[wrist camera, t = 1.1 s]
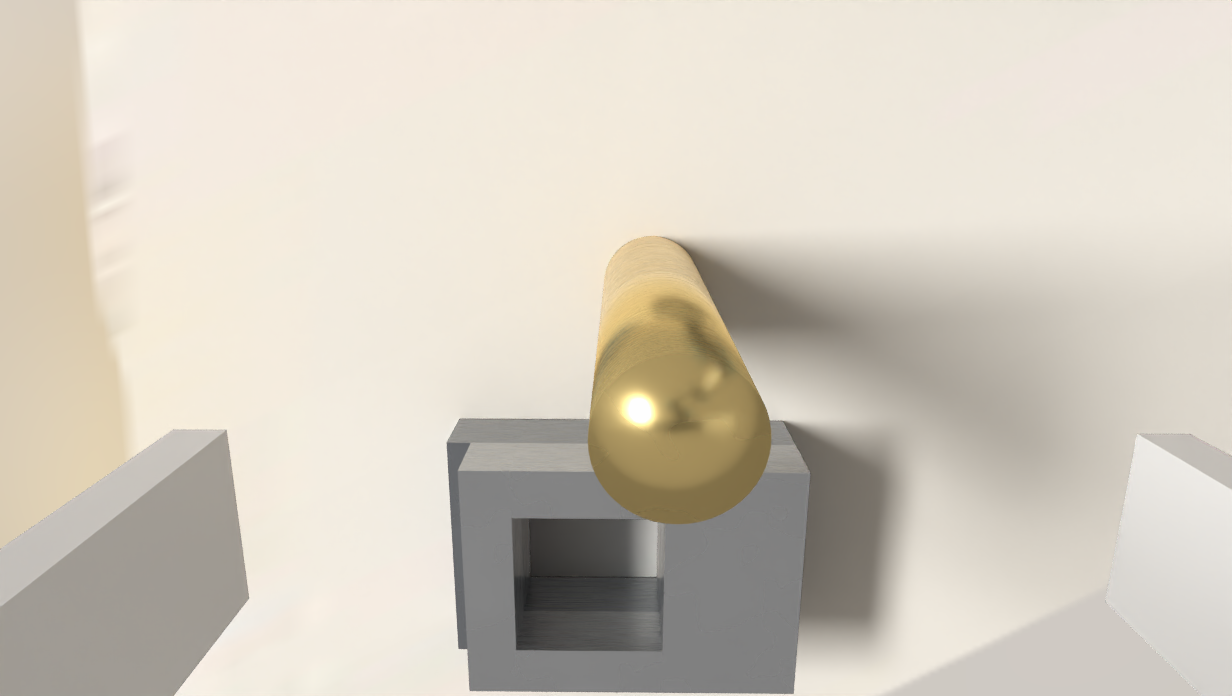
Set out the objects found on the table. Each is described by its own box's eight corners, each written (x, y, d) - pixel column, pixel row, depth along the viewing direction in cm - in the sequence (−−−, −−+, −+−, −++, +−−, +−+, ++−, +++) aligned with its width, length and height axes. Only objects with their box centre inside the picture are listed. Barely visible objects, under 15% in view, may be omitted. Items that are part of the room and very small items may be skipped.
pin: (699, 236, 27) (776, 353, 14) (696, 328, 28) (766, 525, 14) (604, 235, 27) (587, 352, 14) (604, 328, 28) (588, 523, 14)
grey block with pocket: (469, 612, 31) (445, 690, 27) (459, 418, 29) (431, 470, 25) (769, 615, 31) (793, 693, 27) (782, 421, 29) (810, 472, 25)
